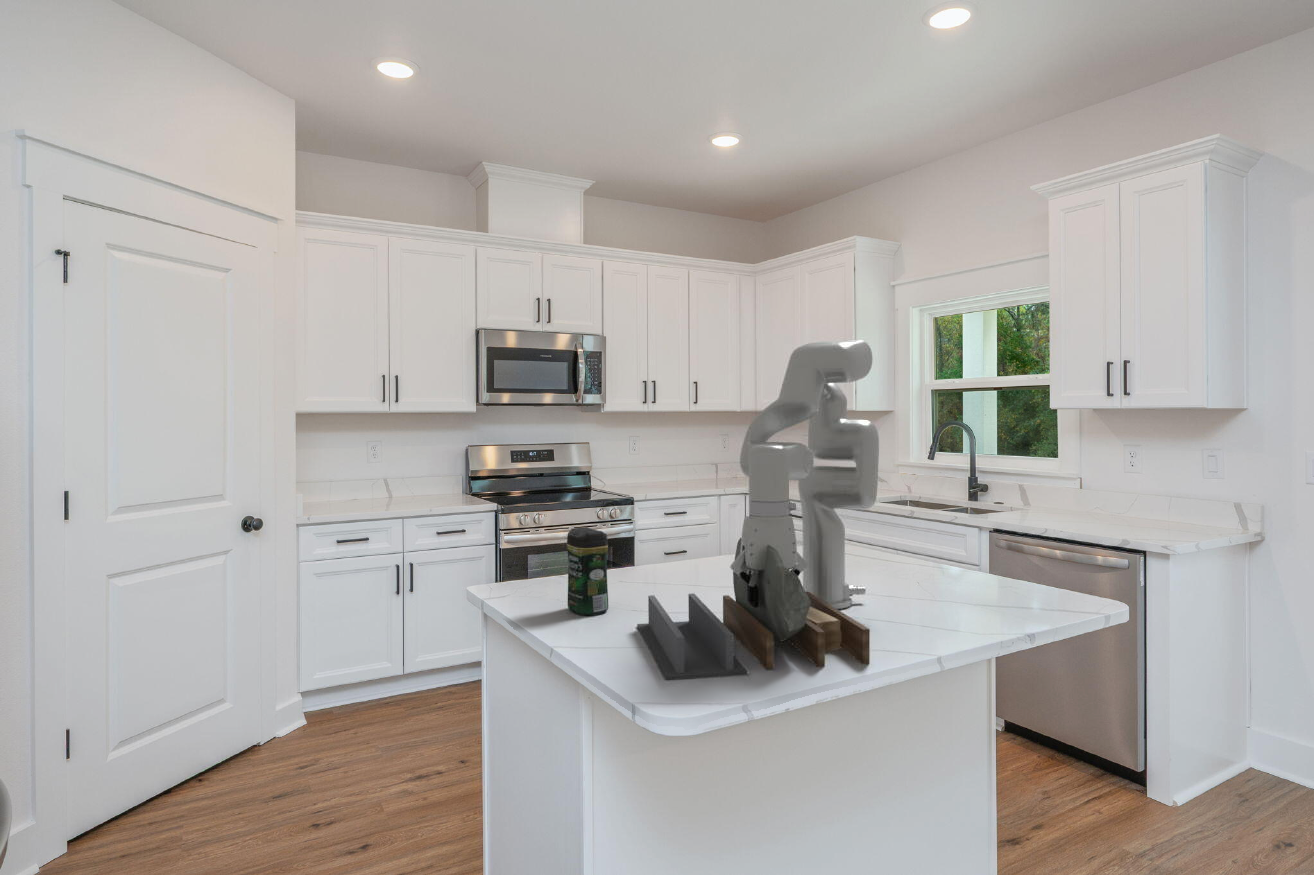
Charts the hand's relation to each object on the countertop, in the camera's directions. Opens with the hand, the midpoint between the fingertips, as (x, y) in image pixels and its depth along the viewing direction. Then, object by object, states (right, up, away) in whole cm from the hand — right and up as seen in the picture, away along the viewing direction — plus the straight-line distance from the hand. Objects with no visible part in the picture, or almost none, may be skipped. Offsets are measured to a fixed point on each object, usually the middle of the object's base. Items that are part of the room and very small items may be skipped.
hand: (769, 604), depth 142 cm
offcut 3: (+9, -8, +2) cm, 12 cm away
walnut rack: (+4, -7, +1) cm, 9 cm away
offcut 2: (+9, -6, +2) cm, 11 cm away
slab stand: (-16, -8, -3) cm, 18 cm away
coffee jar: (-37, -7, +25) cm, 45 cm away
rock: (0, -8, 0) cm, 8 cm away
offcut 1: (+8, -4, +2) cm, 10 cm away
